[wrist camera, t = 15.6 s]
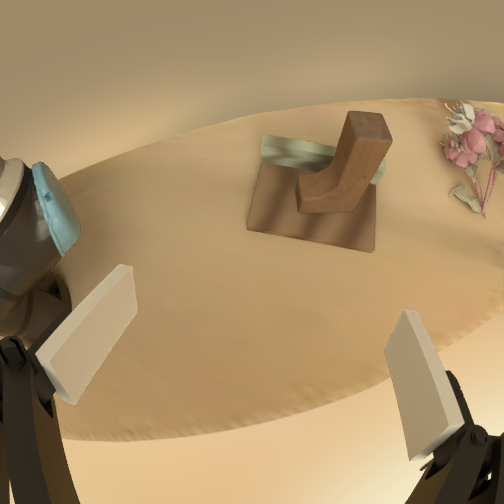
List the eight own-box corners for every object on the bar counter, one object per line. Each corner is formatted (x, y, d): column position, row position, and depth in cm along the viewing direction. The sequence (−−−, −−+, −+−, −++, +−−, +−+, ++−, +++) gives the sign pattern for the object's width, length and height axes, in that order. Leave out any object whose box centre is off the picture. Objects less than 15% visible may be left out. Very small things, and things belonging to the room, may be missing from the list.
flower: (507, 177, 45) (522, 87, 27) (512, 251, 37) (552, 149, 19) (438, 159, 57) (436, 67, 38) (427, 226, 49) (434, 116, 30)
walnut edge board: (247, 229, 45) (244, 211, 38) (263, 158, 49) (263, 134, 43) (371, 253, 43) (386, 238, 37) (373, 179, 47) (385, 159, 41)
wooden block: (297, 214, 44) (315, 136, 26) (294, 189, 45) (308, 107, 28) (353, 212, 43) (394, 141, 26) (347, 188, 45) (382, 112, 28)
